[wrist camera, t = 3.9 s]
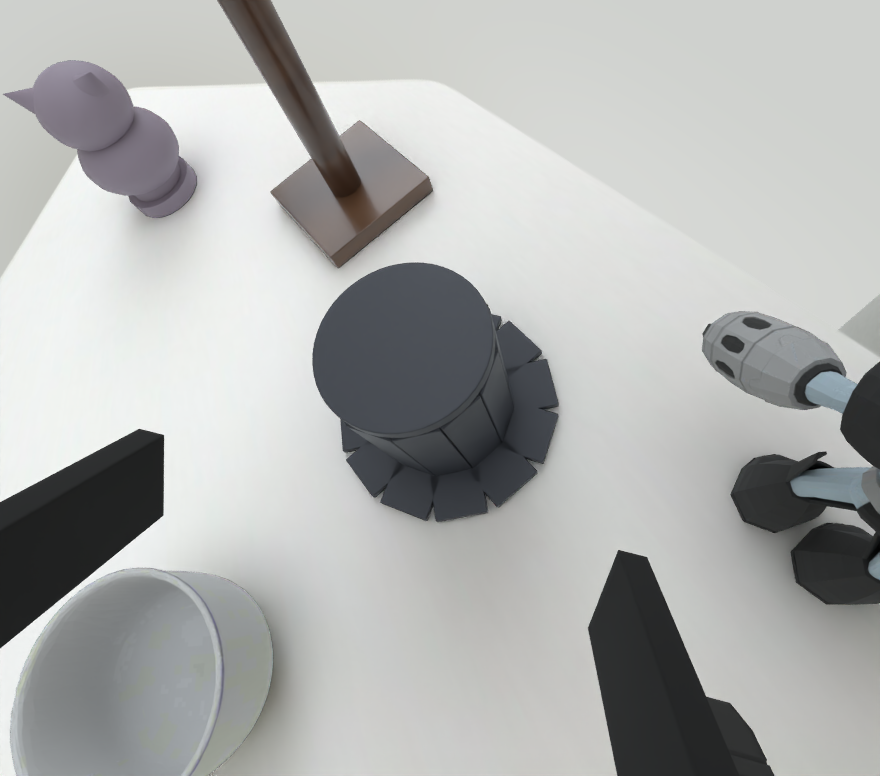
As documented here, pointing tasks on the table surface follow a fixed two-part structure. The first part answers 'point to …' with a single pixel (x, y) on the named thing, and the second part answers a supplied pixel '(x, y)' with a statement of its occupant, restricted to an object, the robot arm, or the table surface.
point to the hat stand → (327, 149)
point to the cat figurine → (111, 135)
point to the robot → (809, 481)
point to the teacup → (143, 678)
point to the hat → (433, 392)
